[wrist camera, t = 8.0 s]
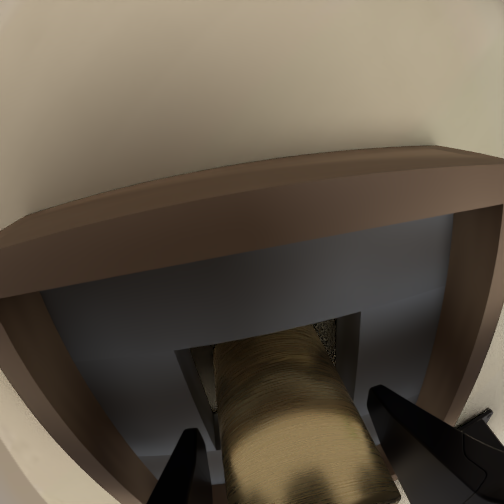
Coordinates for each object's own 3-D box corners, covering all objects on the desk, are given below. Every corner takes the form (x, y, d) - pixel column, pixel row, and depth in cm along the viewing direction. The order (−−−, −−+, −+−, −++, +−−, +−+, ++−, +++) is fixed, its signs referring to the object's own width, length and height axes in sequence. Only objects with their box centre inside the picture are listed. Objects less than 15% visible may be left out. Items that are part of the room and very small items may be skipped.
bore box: (401, 411, 14) (432, 462, 11) (154, 466, 13) (152, 527, 10) (436, 145, 9) (523, 163, 5) (25, 216, 8) (-50, 265, 4)
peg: (319, 378, 12) (383, 521, 6) (225, 399, 12) (248, 557, 5) (317, 299, 11) (420, 469, 4) (202, 322, 10) (214, 527, 4)
